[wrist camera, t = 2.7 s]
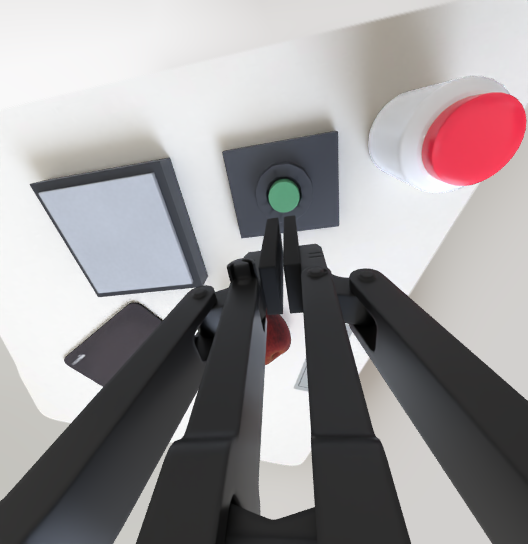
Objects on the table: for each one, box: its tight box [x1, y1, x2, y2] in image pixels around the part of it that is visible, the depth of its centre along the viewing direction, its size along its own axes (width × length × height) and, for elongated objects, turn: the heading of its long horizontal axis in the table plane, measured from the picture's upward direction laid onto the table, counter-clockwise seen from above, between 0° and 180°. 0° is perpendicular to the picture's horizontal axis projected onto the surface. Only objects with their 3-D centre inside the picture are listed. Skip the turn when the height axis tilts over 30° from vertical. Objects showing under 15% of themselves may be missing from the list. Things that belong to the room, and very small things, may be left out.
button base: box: [222, 131, 339, 238], centre depth 28 cm, size 12×10×3 cm
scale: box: [30, 158, 208, 297], centre depth 32 cm, size 16×16×3 cm
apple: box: [265, 309, 291, 365], centre depth 36 cm, size 7×8×8 cm
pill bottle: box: [368, 76, 526, 193], centre depth 21 cm, size 8×8×11 cm
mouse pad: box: [64, 303, 162, 387], centre depth 48 cm, size 25×21×1 cm
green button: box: [268, 179, 300, 213], centre depth 26 cm, size 3×3×2 cm
